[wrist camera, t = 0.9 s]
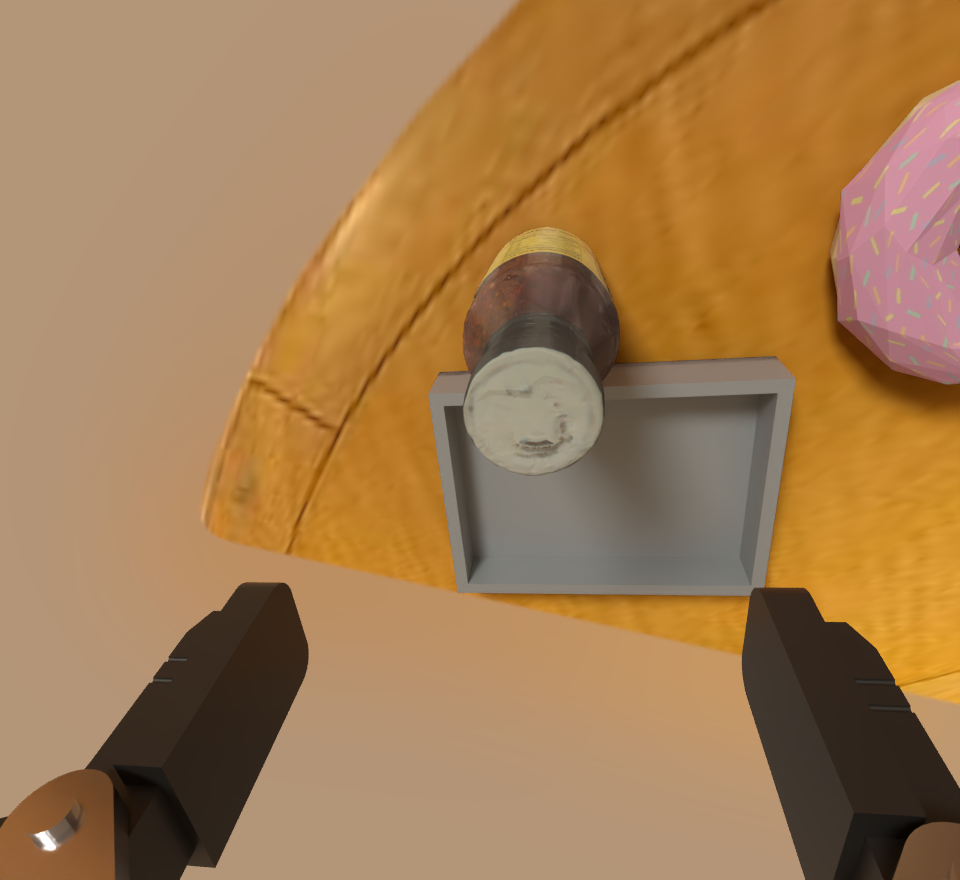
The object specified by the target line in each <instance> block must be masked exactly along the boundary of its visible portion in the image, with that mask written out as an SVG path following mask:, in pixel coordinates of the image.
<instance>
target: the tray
mask: <svg viewBox="0 0 960 880" xmlns="http://www.w3.org/2000/svg"><path fill="white" fill-rule="evenodd" d="M470 377H471V374H470V372H469V371H457V372H440V373H439V374H438V376H437V378H436V380H435V382H434V384H433V386H432V388H431V390H430V392H429V401H430V408H431V414H432V421H433V428H434V435H435V441H436V448H437V455H438V462H439V468H440V475H441V482H442V488H443V495H444V502H445V509H446V515H447V522H448V529H449V536H450V542H451V549H452V556H453V563H454V569H455V576H456V583H457V590H458V593H531V594H624V595H717V596H751V592H752V590H753V589H754V588H764V586H765V579H766V573H767V566H768V559H769V553H770V546H771V540H772V533H773V526H774V520H775V513H776V507H777V500H778V493H779V487H780V480H781V474H782V467H783V460H784V454H785V447H786V441H787V434H788V428H789V421H790V414H791V408H792V401H793V395H794V388H795V381H796V378H795V377H794V376H793V375H792V374H791V373H790V372H789V370H788V369H787V368H786V367H785V366H784V365H783V364H782V363H781V362H780V361H779V360H778V358H777V357H776V356H770V357H749V358H728V359H708V360H687V361H666V362H645V363H624V364H613V366H612V368H611V370H610V372H609V374H608V375H607V376H606V378H605V379H604V380H603V381H602V385H603V389H604V395H605V396H604V401H605V416H604V422H603V428H602V431H601V434H600V436H599V438H598V440H597V442H596V444H595V445H594V446H593V447H592V448H591V449H590V450H589V452H588V453H587V454H586V455H585V456H584V457H583V458H582V459H580V460H579V461H578V462H576V463H574V464H573V465H571V466H570V467H567V468H565V469H562V470H559V471H557V472H554V473H548V474H545V475H540V476H531V475H529V476H526V475H522V474H517V473H512V472H509V471H507V470H505V469H503V468H501V467H499V466H496V465H495V464H493V463H492V462H491V461H489V460H488V459H487V458H485V457H484V456H483V455H482V454H481V452H480V451H479V450H478V448H477V447H476V446H475V445H474V444H473V442H472V440H471V438H470V436H469V434H468V432H467V430H466V427H465V423H464V418H463V403H464V396H465V393H466V389H467V386H468V383H469V380H470Z"/></svg>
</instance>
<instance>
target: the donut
mask: <svg viewBox="0 0 960 880" xmlns="http://www.w3.org/2000/svg"><path fill="white" fill-rule="evenodd" d="M959 245H960V80H958V81H956V82H954V83H952V84H950V85H948V86H946V87H944V88H942V89H940V90H938V91H936V92H934V93H932V94H930V95H928V96H926V97H924V98H923V99H922V100H921V101H920V102H919V103H918V104H917V105H916V106H915V107H914V108H913V110H912V111H911V112H910V113H909V114H908V116H907V117H906V118H905V119H904V120H903V121H902V123H901V124H900V125H899V126H898V127H897V129H896V130H895V131H894V132H893V133H892V135H891V136H890V137H889V138H888V139H887V140H886V142H885V143H884V144H883V145H882V146H881V148H880V149H879V150H878V151H877V152H876V153H875V155H874V156H873V157H872V158H871V159H870V161H869V162H868V163H867V164H866V165H865V166H864V168H863V169H862V170H861V171H860V172H859V173H858V174H857V175H856V176H855V177H854V178H853V179H852V181H851V182H850V183H849V184H848V185H847V186H846V187H845V188H844V189H843V190H842V193H841V209H840V218H839V222H838V225H837V229H836V232H835V235H834V239H833V242H832V245H831V249H830V258H831V263H832V269H833V275H834V280H835V286H836V292H837V309H838V322H840V323H841V324H842V325H843V326H844V327H845V328H846V329H847V330H848V331H850V332H851V333H852V334H853V335H854V336H855V337H856V338H857V339H858V340H860V341H861V342H862V343H863V344H864V345H865V346H866V347H867V348H868V349H869V350H871V351H872V352H873V353H874V354H875V355H876V356H877V357H878V358H879V359H881V360H882V361H883V362H884V363H885V364H886V365H887V366H888V367H889V368H891V369H892V370H894V371H898V372H901V373H905V374H909V375H913V376H916V377H920V378H924V379H928V380H931V381H935V382H939V383H942V384H946V385H949V384H960V256H959V254H958V251H957V249H958V247H959Z"/></svg>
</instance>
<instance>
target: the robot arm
mask: <svg viewBox="0 0 960 880" xmlns="http://www.w3.org/2000/svg"><path fill="white" fill-rule="evenodd" d="M308 654H309V653H308V644H307V640H306V637H305V634H304V630H303V627H302V624H301V621H300V618H299V615H298V611H297V608H296V605H295V602H294V598H293V595H292V592H291V589H290V588H289V586H288V585H287V584H285V583H257V582H253V583H252V582H250V583H249V582H246V583H243V584H241V585H240V586H239V587H238V588H237V589H236V590H235V592H234V593H233V595H232V596H231V597H230V599H229V600H228V602H227V603H226V604H225V606H224V607H223V609H222V610H221V611H213V612H211V613H210V614H209V615H208V616H206V617H205V618H204V619H203V620H201V621H200V622H199V623H198V624H197V625H195V626H194V627H193V628H191V629H190V630H189V631H188V632H187V633H186V634H185V635H184V637H183V638H182V640H181V641H180V642H179V643H178V645H177V646H176V648H175V649H174V650H173V652H172V653H171V654H170V656H169V660H168V662H164V664H163V665H162V667H161V668H160V669H159V670H158V672H157V673H156V675H155V676H154V677H153V678H154V679H153V682H152V683H149V684H148V685H147V687H146V688H145V689H144V691H143V692H142V693H141V695H140V696H139V697H138V699H137V700H136V701H135V703H134V704H133V705H132V707H131V708H130V710H129V711H128V712H127V714H126V715H125V716H124V718H123V719H122V720H121V722H120V723H119V724H118V726H117V727H116V728H115V730H114V731H113V732H112V734H111V735H110V736H109V738H108V739H107V740H106V742H105V743H104V744H103V746H102V747H101V749H100V750H99V751H98V753H97V754H96V755H95V757H94V758H93V759H92V761H91V762H90V763H89V764H88V766H87V767H86V768H85V769H83V770H77V771H73V772H70V773H67V774H64V775H62V776H59V777H57V778H55V779H53V780H51V781H49V782H48V783H46V784H45V785H43V786H41V787H40V788H38V789H37V790H36V791H34V792H33V793H32V794H30V795H29V796H28V797H27V798H26V799H25V800H23V801H22V802H21V803H20V804H19V805H18V806H17V807H16V808H15V810H14V811H13V812H12V813H11V814H10V815H9V816H8V817H4V818H0V880H180V878H181V876H182V874H183V872H184V870H185V868H186V866H187V865H190V866H200V867H212V868H215V867H216V865H217V863H218V861H219V859H220V856H221V854H222V852H223V850H224V848H225V846H226V843H227V842H228V839H229V837H230V835H231V833H232V831H233V829H234V827H235V824H236V822H237V820H238V818H239V816H240V814H241V812H242V810H243V807H244V805H245V803H246V801H247V799H248V797H249V795H250V793H251V790H252V788H253V786H254V784H255V782H256V780H257V778H258V776H259V773H260V771H261V769H262V767H263V765H264V763H265V760H266V758H267V756H268V754H269V752H270V750H271V748H272V746H273V743H274V741H275V739H276V737H277V735H278V733H279V731H280V729H281V727H282V724H283V722H284V720H285V718H286V716H287V714H288V711H289V710H290V707H291V705H292V703H293V701H294V699H295V696H296V695H297V692H298V690H299V688H300V686H301V684H302V682H303V679H304V677H305V673H306V670H307V665H308ZM742 673H743V681H744V686H745V691H746V695H747V698H748V701H749V705H750V708H751V711H752V714H753V717H754V720H755V724H756V727H757V729H758V733H759V736H760V739H761V742H762V745H763V749H764V752H765V755H766V758H767V761H768V764H769V767H770V770H771V773H772V776H773V780H774V783H775V786H776V789H777V792H778V795H779V798H780V802H781V805H782V808H783V811H784V814H785V817H786V820H787V824H788V827H789V830H790V833H791V836H792V839H793V842H794V845H795V849H796V852H797V855H798V858H799V861H800V864H801V867H802V870H803V874H804V876H805V880H960V788H959V786H958V785H957V783H956V781H955V780H954V778H953V776H952V775H951V773H950V771H949V770H948V768H947V766H946V765H945V763H944V761H943V760H942V758H941V756H940V755H939V753H938V751H937V750H936V748H935V746H934V744H933V743H932V741H931V739H930V738H929V736H928V734H927V733H926V731H925V729H924V728H923V726H922V725H921V723H920V721H919V719H918V718H917V716H916V714H915V713H912V712H911V709H910V704H909V703H908V701H907V699H906V698H905V696H904V694H903V692H902V691H901V689H900V687H899V686H896V685H895V679H894V677H893V676H892V674H891V672H890V671H889V669H888V667H887V666H886V664H885V662H884V661H883V659H882V657H881V656H880V654H879V652H878V651H877V649H876V648H875V647H874V646H873V645H872V644H870V643H869V642H868V641H867V640H866V639H865V638H864V637H862V636H861V635H860V634H859V633H858V632H857V631H855V630H854V629H853V628H852V627H851V626H850V625H849V624H847V623H846V622H825V621H824V619H823V617H822V616H821V614H820V612H819V610H818V608H817V606H816V604H815V602H814V600H813V598H812V597H811V595H810V593H809V592H808V591H807V590H806V589H805V588H754V589H753V590H752V592H751V596H750V602H749V609H748V616H747V623H746V631H745V638H744V645H743V652H742Z"/></svg>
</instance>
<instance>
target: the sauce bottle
mask: <svg viewBox="0 0 960 880" xmlns="http://www.w3.org/2000/svg"><path fill="white" fill-rule="evenodd" d="M619 340H620V329H619V320H618V316H617V312H616V308H615V305H614V302H613V300H612V296H611V294H610V291H609V289H608V286H607V284H606V282H605V278H604V276H603V273H602V271H601V268H600V266H599V263H598V261H597V259H596V257H595V255H594V253H593V252H592V250H591V249H590V248H589V247H588V245H587V244H586V243H585V242H583V241H582V240H581V239H579V238H578V237H577V236H575V235H573V234H571V233H569V232H567V231H564V230H562V229H557V228H552V227H543V228H537V229H532V230H529V231H526V232H523V233H520V234H519V235H518V236H516V237H515V238H513V239H512V240H511V241H510V242H508V243H507V244H506V245H505V246H504V247H503V248H502V250H501V251H500V252H499V254H498V255H497V257H496V258H495V260H494V262H493V263H492V265H491V267H490V268H489V270H488V272H487V274H486V275H485V277H484V279H483V280H482V282H481V284H480V286H479V288H478V289H477V291H476V293H475V295H474V300H473V302H472V304H471V306H470V309H469V311H468V313H467V317H466V320H465V322H464V332H463V353H464V356H465V360H466V364H467V366H468V369H469V372H470V374H471V377H470V380H469V383H468V386H467V389H466V393H465V396H464V403H463V418H464V423H465V427H466V430H467V432H468V434H469V436H470V438H471V440H472V442H473V444H474V445H475V446H476V447H477V448H478V450H479V451H480V452H481V454H482V455H483V456H484V457H485V458H487V459H488V460H489V461H491V462H492V463H493V464H495V465H496V466H499V467H501V468H503V469H505V470H507V471H509V472H512V473H517V474H522V475H526V476H529V475H531V476H540V475H545V474H548V473H554V472H557V471H559V470H562V469H565V468H567V467H570V466H571V465H573V464H574V463H576V462H578V461H579V460H580V459H582V458H583V457H584V456H585V455H586V454H587V453H588V452H589V450H590V449H591V448H592V447H593V446H594V445H595V444H596V442H597V440H598V438H599V436H600V434H601V431H602V428H603V422H604V416H605V401H604V396H605V395H604V389H603V385H602V381H603V380H604V379H605V378H606V376H607V375H608V374H609V372H610V370H611V368H612V366H613V364H614V362H615V359H616V357H617V353H618V348H619Z"/></svg>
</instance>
